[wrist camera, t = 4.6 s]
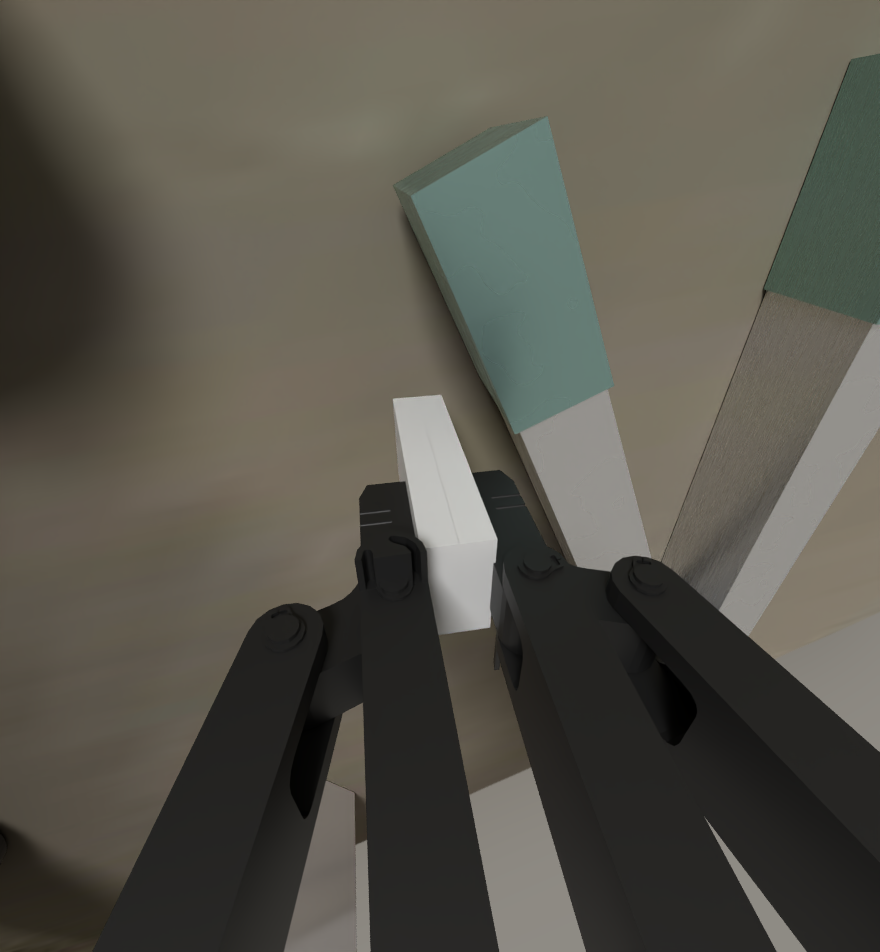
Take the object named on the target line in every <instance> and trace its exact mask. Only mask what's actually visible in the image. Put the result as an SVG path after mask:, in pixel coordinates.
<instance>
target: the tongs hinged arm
mask: <svg viewBox="0 0 880 952" xmlns="http://www.w3.org/2000/svg"><path fill="white" fill-rule="evenodd" d="M393 187H394V189H395V191H396V193H397V196H398V198H399V200H400V202H401V204H402V207H403V209H404V211H405V213H406V216H407V218H408V220H409V222H410V224H411V227H412V229H413V231H414V233H415V235H416V238H417V240H418V242H419V244H420V246H421V249H422V251H423V253H424V255H425V257H426V260H427V262H428V264H429V266H430V268H431V271H432V273H433V275H434V277H435V280H436V282H437V284H438V286H439V288H440V291H441V293H442V295H443V297H444V299H445V302H446V304H447V306H448V308H449V310H450V313H451V315H452V317H453V319H454V321H455V324H456V326H457V328H458V330H459V332H460V335H461V337H462V339H463V341H464V344H465V346H466V348H467V350H468V352H469V355H470V357H471V359H472V361H473V363H474V366H475V368H476V370H477V372H478V374H479V376H480V378H481V380H482V381H483V383H484V385H485V386H486V388H487V390H488V391H489V393H490V394H491V396H492V398H493V399H494V401H495V403H496V404H497V406H498V408H499V410H500V412H501V414H502V417H503V419H504V421H505V423H506V426H507V428H508V430H509V432H510V435H511V437H512V439H513V441H514V444H515V446H516V448H517V450H518V453H519V455H520V457H521V459H522V462H523V464H524V466H525V468H526V471H527V473H528V475H529V477H530V480H531V482H532V484H533V486H534V489H535V491H536V493H537V495H538V498H539V500H540V502H541V504H542V507H543V509H544V511H545V513H546V516H547V518H548V520H549V522H550V525H551V527H552V529H553V531H554V534H555V536H556V538H557V540H558V543H559V545H560V547H561V549H562V552H563V554H564V556H565V558H566V560H567V562H568V564H571V565H573V566H577V567H581V568H587V569H595V570H603V571H611V570H612V568H613V566H614V564H615V562H617V561H619V560H620V559H622V558H623V557H629V556H642V557H649V558H651V555H650V551H649V547H648V543H647V540H646V536H645V532H644V528H643V524H642V520H641V516H640V513H639V509H638V505H637V501H636V497H635V493H634V490H633V486H632V482H631V478H630V474H629V470H628V466H627V463H626V459H625V455H624V451H623V447H622V443H621V439H620V436H619V432H618V428H617V424H616V420H615V416H614V412H613V409H612V405H611V401H610V397H609V393H608V389H609V388H611V387H613V386H614V383H613V379H612V375H611V371H610V367H609V363H608V359H607V355H606V351H605V347H604V343H603V339H602V335H601V331H600V327H599V323H598V319H597V315H596V311H595V307H594V303H593V299H592V294H591V290H590V286H589V282H588V278H587V274H586V270H585V266H584V262H583V258H582V254H581V250H580V246H579V242H578V238H577V234H576V230H575V226H574V222H573V218H572V214H571V210H570V206H569V202H568V198H567V194H566V190H565V186H564V181H563V177H562V173H561V169H560V165H559V161H558V157H557V153H556V149H555V145H554V141H553V137H552V133H551V129H550V125H549V121H548V117H547V116H546V117H541V118H536V119H531V120H526V121H521V122H516V123H511V124H506V125H501V126H496V127H491V128H489V129H487V130H486V131H484V132H482V133H481V134H479V135H477V136H475V137H474V138H472V139H470V140H469V141H467V142H465V143H464V144H462V145H460V146H459V147H457V148H455V149H453V150H452V151H450V152H448V153H447V154H445V155H443V156H442V157H440V158H438V159H437V160H435V161H433V162H431V163H430V164H428V165H426V166H425V167H423V168H421V169H420V170H418V171H416V172H414V173H413V174H411V175H409V176H408V177H406V178H404V179H403V180H401V181H399V182H398V183H396V184H394V185H393Z"/></svg>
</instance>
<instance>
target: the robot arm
mask: <svg viewBox="0 0 880 952" xmlns="http://www.w3.org/2000/svg"><path fill="white" fill-rule="evenodd" d="M393 408H394V421H395V433H396V446H397V459H398V472H399V478H400V482H394V483H384V484H375V485H367V486H366V488H365V490H364V491H363V493H362V495H361V496H360V498H359V505H360V536H361V546H360V547H359V549H358V550H357V553H356V557H355V566H356V572H357V578H358V584H357V586H356V587H355V588H354V590H353V591H352V592H351V593H350V594H349V595H347V596H346V597H345V598H344V599H342V600H340V601H338V602H336V603H335V604H332V605H330V606H328V607H325V608H323V609H321V610H318V611H316V610H314V609H313V608H312V607H311V606H308V605H304V604H299V603H293V604H284V605H281V606H278V607H276V608H273V609H271V610H269V611H267V612H266V613H265V614H264V615H262V616H261V617H260V618H258V619H257V620H256V621H255V623H254V624H253V626H252V627H251V628H250V630H249V631H248V633H247V635H246V637H245V639H244V641H243V643H242V645H241V648H240V650H239V652H238V654H237V656H236V658H235V660H234V662H233V664H232V666H231V668H230V670H229V672H228V674H227V676H226V678H225V680H224V682H223V685H222V687H221V689H220V691H219V693H218V695H217V697H216V699H215V701H214V703H213V705H212V707H211V709H210V711H209V713H208V715H207V717H206V719H205V722H204V724H203V726H202V728H201V730H200V732H199V734H198V736H197V738H196V740H195V742H194V744H193V746H192V748H191V750H190V752H189V754H188V756H187V758H186V761H185V763H184V765H183V767H182V769H181V771H180V773H179V775H178V777H177V779H176V781H175V783H174V785H173V787H172V789H171V791H170V793H169V795H168V798H167V800H166V802H165V804H164V806H163V808H162V810H161V812H160V814H159V816H158V818H157V820H156V822H155V824H154V826H153V828H152V830H151V832H150V835H149V837H148V839H147V841H146V843H145V845H144V847H143V849H142V851H141V853H140V855H139V857H138V859H137V861H136V863H135V865H134V867H133V869H132V872H131V874H130V876H129V878H128V880H127V882H126V884H125V886H124V888H123V890H122V892H121V894H120V896H119V898H118V900H117V902H116V904H115V906H114V908H113V911H112V913H111V915H110V917H109V919H108V921H107V923H106V925H105V927H104V929H103V931H102V933H101V935H100V937H99V939H98V941H97V943H96V945H95V948H94V950H93V952H284V949H285V945H286V941H287V937H288V933H289V929H290V925H291V921H292V917H293V913H294V909H295V904H296V900H297V896H298V892H299V888H300V884H301V880H302V876H303V872H304V868H305V864H306V860H307V856H308V852H309V848H310V844H311V840H312V836H313V831H314V827H315V823H316V819H317V815H318V811H319V807H320V803H321V799H322V795H323V791H324V787H325V783H326V779H327V775H328V771H329V767H330V763H331V759H332V754H333V750H334V746H335V742H336V738H337V734H338V730H339V726H340V722H341V718H342V714H343V713H344V712H345V711H347V710H349V709H351V708H353V707H355V706H357V705H359V704H361V703H363V715H364V748H365V781H366V813H367V845H368V878H369V912H370V944H371V952H499V948H498V943H497V937H496V932H495V927H494V922H493V917H492V911H491V907H490V901H489V896H488V891H487V886H486V880H485V875H484V870H483V865H482V860H481V855H480V849H479V844H478V839H477V834H476V828H475V823H474V818H473V813H472V808H471V803H470V797H469V792H468V786H467V781H466V776H465V771H464V766H463V760H462V755H461V750H460V745H459V740H458V734H457V729H456V724H455V719H454V714H453V708H452V703H451V698H450V693H449V688H448V682H447V677H446V672H445V667H444V662H443V656H442V651H441V646H440V641H439V635H443V634H450V633H457V632H463V631H470V630H477V629H483V628H490V622H491V614H492V617H493V621H494V624H495V627H496V630H497V633H496V643H495V653H494V670H498V669H499V667H500V663H501V667H502V670H503V674H504V677H505V680H506V684H507V687H508V690H509V694H510V697H511V700H512V704H513V707H514V711H515V714H516V717H517V721H518V724H519V727H520V731H521V734H522V737H523V741H524V744H525V748H526V751H527V754H528V758H529V761H530V764H531V768H532V771H533V774H534V778H535V781H536V784H537V788H538V791H539V795H540V798H541V801H542V805H543V808H544V811H545V815H546V818H547V822H548V825H549V828H550V832H551V835H552V838H553V841H554V845H555V848H556V852H557V855H558V859H559V862H560V865H561V868H562V872H563V875H564V879H565V882H566V885H567V888H568V892H569V896H570V899H571V902H572V906H573V909H574V912H575V916H576V919H577V922H578V925H579V929H580V932H581V936H582V939H583V943H584V946H585V949H586V952H776V950H775V948H774V946H773V944H772V942H771V941H770V938H769V937H768V935H767V933H766V931H765V929H764V928H763V925H762V924H761V922H760V920H759V918H758V916H757V914H756V912H755V911H754V909H753V907H752V905H751V903H750V901H749V899H748V897H747V896H746V894H745V892H744V890H743V888H742V886H741V884H740V883H739V881H738V879H737V877H736V875H735V873H734V871H733V870H732V868H731V866H730V864H729V862H728V860H727V858H726V856H725V855H724V853H723V851H722V849H721V847H720V845H719V844H718V842H717V840H716V838H715V836H714V834H713V832H712V830H711V829H710V827H709V825H708V823H707V821H706V819H707V820H708V822H709V823H710V824H711V826H712V827H713V828H714V830H715V831H716V832H717V834H718V835H719V836H720V838H721V839H722V840H723V842H724V843H725V844H726V846H727V847H728V848H729V850H730V851H731V852H732V853H733V855H734V856H735V857H736V859H737V860H738V861H739V863H740V864H741V865H742V867H743V868H744V869H745V871H746V872H747V873H748V875H749V876H750V877H751V878H752V880H753V881H754V882H755V884H756V885H757V886H758V888H759V889H760V890H761V891H762V893H763V894H764V896H765V897H766V898H767V900H768V901H769V902H770V904H771V905H772V906H773V907H774V909H775V910H776V911H777V913H778V914H779V915H780V917H781V918H782V919H783V920H784V922H785V923H786V925H787V926H788V927H789V928H790V930H791V931H792V933H793V934H794V935H795V936H796V938H797V939H798V940H799V942H800V943H801V944H802V946H803V947H804V948H805V950H806V951H807V952H880V752H879V751H878V750H877V749H875V748H874V747H873V746H872V745H871V744H870V743H869V742H867V741H866V740H865V739H864V738H863V737H862V736H861V735H860V734H858V733H857V732H856V731H855V730H854V729H853V728H852V727H850V726H849V725H848V724H847V723H846V722H845V721H844V720H842V719H841V718H840V717H839V716H838V715H837V714H835V712H833V711H832V710H831V709H830V708H829V707H828V706H826V705H825V704H824V703H823V702H822V701H821V700H820V699H819V698H818V697H816V696H815V695H814V694H813V693H812V692H810V690H808V689H807V688H806V687H805V686H804V685H803V684H802V683H800V682H799V681H798V680H797V679H796V678H795V677H794V676H792V675H791V674H790V673H789V672H788V671H787V670H786V669H785V668H783V667H782V666H781V665H780V664H779V663H778V662H777V661H776V660H774V659H773V658H772V657H771V656H770V655H769V654H768V653H766V652H765V651H764V650H763V649H762V648H761V647H760V646H759V645H757V644H756V643H755V642H754V641H753V640H752V639H751V638H749V637H748V636H747V635H746V634H745V633H744V632H743V631H741V630H740V629H739V628H738V627H737V626H736V625H735V624H734V623H732V622H731V621H730V620H729V619H728V618H727V617H726V616H724V615H723V614H722V613H721V612H720V611H719V610H718V609H717V608H715V607H714V606H713V605H712V604H711V603H710V602H709V601H707V600H706V599H705V598H704V597H703V596H702V595H701V594H699V593H698V592H697V591H696V590H695V589H694V588H693V587H692V586H690V585H689V584H688V583H687V582H686V581H685V580H684V579H682V578H681V577H680V576H679V575H678V574H677V573H676V572H675V571H673V570H672V569H671V568H669V567H668V566H666V565H665V564H663V563H662V562H659V561H657V560H654V559H651V558H649V557H642V556H629V557H623V558H622V559H620V560H619V561H617V562H615V564H614V566H613V568H612V570H611V571H603V570H595V569H587V568H581V567H577V566H573V565H571V564H568V562H567V561H566V560H565V559H564V557H563V556H562V555H561V554H560V553H558V552H556V551H555V550H553V549H552V548H549V547H547V546H546V544H545V542H544V540H543V538H542V537H541V535H540V533H539V531H538V529H537V527H536V525H535V523H534V521H533V519H532V517H531V515H530V513H529V511H528V509H527V507H525V503H524V501H523V499H522V497H521V496H520V493H519V491H518V489H517V487H516V485H515V483H514V481H513V480H512V479H510V478H509V477H508V476H507V475H505V474H504V473H503V472H502V471H500V470H496V471H486V472H477V473H471V470H470V468H469V465H468V462H467V460H466V457H465V455H464V452H463V450H462V447H461V444H460V442H459V439H458V437H457V434H456V432H455V429H454V426H453V424H452V421H451V419H450V416H449V414H448V411H447V409H446V406H445V403H444V401H443V398H442V396H441V395H433V396H421V397H409V398H396V399H393ZM705 818H706V819H705ZM6 851H7V845H6V842H5V839H4V838H3V836H2V835H1V834H0V864H1V862H2V860H3V858H4V856H5V854H6Z"/></svg>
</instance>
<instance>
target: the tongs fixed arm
mask: <svg viewBox="0 0 880 952" xmlns="http://www.w3.org/2000/svg"><path fill="white" fill-rule="evenodd" d="M764 289H765V290H767V291H766V294H765V296H764V299H763V301H762V304H761V306H760V309H759V312H758V314H757V317H756V319H755V322H754V325H753V327H752V330H751V332H750V335H749V337H748V340H747V343H746V345H745V348H744V350H743V353H742V355H741V358H740V361H739V363H738V366H737V368H736V371H735V374H734V376H733V379H732V381H731V384H730V386H729V389H728V392H727V394H726V397H725V399H724V402H723V404H722V407H721V410H720V412H719V415H718V417H717V420H716V423H715V425H714V428H713V430H712V433H711V435H710V438H709V441H708V443H707V446H706V448H705V451H704V453H703V456H702V459H701V461H700V464H699V466H698V469H697V472H696V474H695V477H694V479H693V482H692V484H691V487H690V490H689V492H688V495H687V497H686V500H685V502H684V505H683V508H682V510H681V513H680V515H679V518H678V521H677V523H676V526H675V528H674V531H673V533H672V536H671V539H670V541H669V544H668V546H667V549H666V551H665V554H664V557H663V559H662V563H663V564H665V565H666V566H668V567H669V568H671V569H672V570H673V571H675V572H676V573H677V574H678V575H679V576H680V577H681V578H682V579H684V580H685V581H686V582H687V583H688V584H689V585H690V586H692V587H693V588H694V589H695V590H696V591H697V592H698V593H699V594H701V595H702V596H703V597H704V598H705V599H706V600H707V601H709V602H710V603H711V604H712V605H713V606H714V607H715V608H717V609H718V610H719V611H720V612H721V613H722V614H723V615H724V616H726V617H727V618H728V619H729V620H730V621H731V622H732V623H734V624H735V625H736V626H737V627H738V628H739V629H740V630H741V631H743V632H744V633H745V634H746V635H747V636H749V634H750V633H751V631H752V629H753V628H754V626H755V625H756V623H757V622H758V620H759V618H760V617H761V615H762V614H763V612H764V610H765V609H766V607H767V606H768V604H769V602H770V601H771V599H772V598H773V596H774V594H775V593H776V591H777V590H778V588H779V586H780V585H781V583H782V582H783V580H784V579H785V577H786V575H787V574H788V572H789V571H790V569H791V567H792V566H793V564H794V563H795V561H796V559H797V558H798V556H799V555H800V553H801V551H802V550H803V548H804V547H805V545H806V544H807V542H808V540H809V539H810V537H811V536H812V534H813V532H814V531H815V529H816V528H817V526H818V524H819V523H820V521H821V520H822V518H823V516H824V515H825V513H826V512H827V510H828V508H829V507H830V505H831V504H832V502H833V501H834V499H835V497H836V496H837V494H838V493H839V491H840V489H841V488H842V486H843V485H844V483H845V481H846V480H847V478H848V477H849V475H850V473H851V472H852V470H853V469H854V467H855V465H856V464H857V462H858V461H859V459H860V458H861V456H862V454H863V453H864V451H865V450H866V448H867V446H868V445H869V443H870V442H871V440H872V438H873V437H874V435H875V434H876V432H877V430H878V429H879V427H880V54H876V55H871V56H866V57H860V58H855V59H852V60H851V62H850V65H849V67H848V70H847V73H846V75H845V78H844V80H843V83H842V86H841V88H840V91H839V93H838V96H837V99H836V101H835V104H834V106H833V109H832V112H831V114H830V117H829V120H828V122H827V125H826V127H825V130H824V133H823V135H822V138H821V140H820V143H819V146H818V148H817V151H816V153H815V156H814V159H813V161H812V164H811V167H810V169H809V172H808V174H807V177H806V180H805V182H804V185H803V187H802V190H801V193H800V195H799V198H798V200H797V203H796V206H795V208H794V211H793V213H792V216H791V219H790V221H789V224H788V227H787V229H786V232H785V234H784V237H783V240H782V242H781V245H780V247H779V250H778V253H777V255H776V258H775V260H774V263H773V266H772V268H771V271H770V273H769V276H768V279H767V281H766V284H765V287H764Z"/></svg>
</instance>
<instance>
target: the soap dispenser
mask: <svg viewBox="0 0 880 952" xmlns="http://www.w3.org/2000/svg"><path fill="white" fill-rule="evenodd" d="M356 938H357V936H356V863H355V793H354V792H352V791H349V790H347V789H345V788H342V787H340V786H338V785H336V784H333V783H331V782H329V781H326V783H325V787H324V791H323V795H322V799H321V803H320V807H319V811H318V815H317V819H316V823H315V827H314V831H313V836H312V840H311V844H310V848H309V852H308V856H307V860H306V864H305V868H304V872H303V876H302V880H301V884H300V888H299V892H298V896H297V900H296V904H295V909H294V913H293V917H292V921H291V925H290V929H289V933H288V937H287V941H286V945H285V949H284V952H357V939H356Z"/></svg>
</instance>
